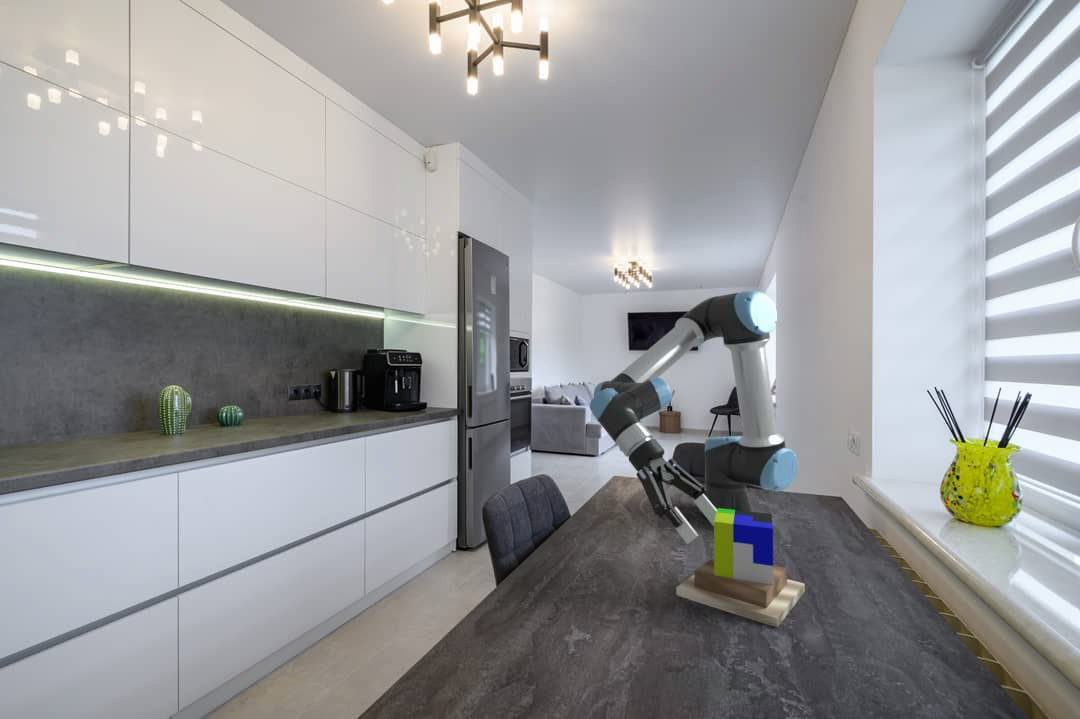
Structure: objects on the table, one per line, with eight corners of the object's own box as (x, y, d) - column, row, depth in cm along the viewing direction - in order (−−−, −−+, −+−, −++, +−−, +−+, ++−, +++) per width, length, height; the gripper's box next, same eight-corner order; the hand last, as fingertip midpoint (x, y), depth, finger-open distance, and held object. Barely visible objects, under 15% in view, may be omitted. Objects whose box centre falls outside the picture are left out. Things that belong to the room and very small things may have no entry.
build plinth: (713, 567, 108) (713, 546, 108) (804, 591, 96) (804, 568, 96) (676, 595, 95) (676, 571, 95) (777, 627, 83) (777, 600, 83)
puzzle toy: (773, 584, 89) (772, 528, 89) (714, 575, 93) (714, 521, 93) (771, 564, 98) (771, 513, 98) (718, 557, 102) (717, 508, 102)
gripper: (656, 451, 121) (717, 526, 111) (599, 466, 102) (666, 559, 92) (676, 431, 118) (741, 507, 108) (621, 443, 99) (694, 536, 89)
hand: (707, 531), depth 100 cm, fingers open, 13 cm apart
